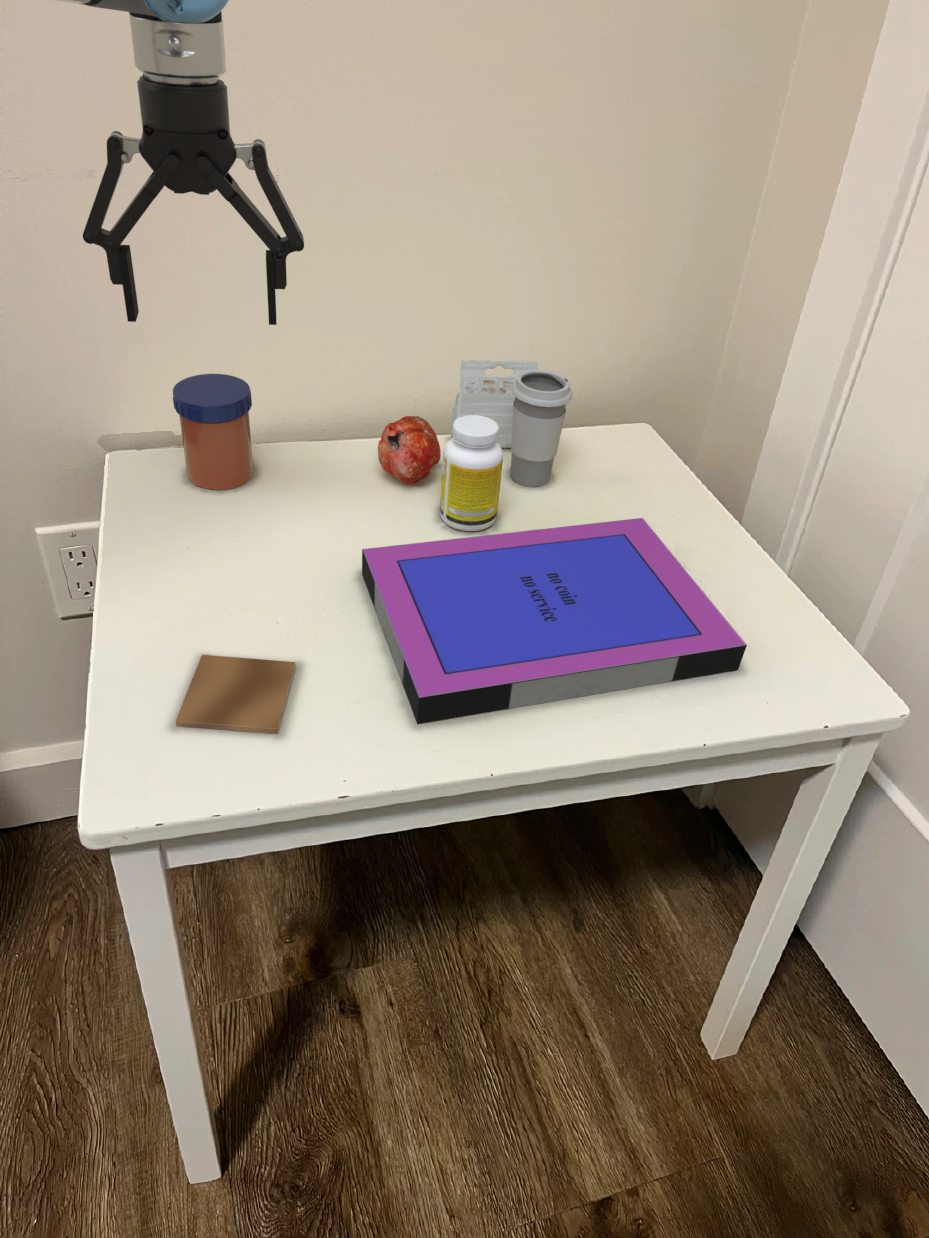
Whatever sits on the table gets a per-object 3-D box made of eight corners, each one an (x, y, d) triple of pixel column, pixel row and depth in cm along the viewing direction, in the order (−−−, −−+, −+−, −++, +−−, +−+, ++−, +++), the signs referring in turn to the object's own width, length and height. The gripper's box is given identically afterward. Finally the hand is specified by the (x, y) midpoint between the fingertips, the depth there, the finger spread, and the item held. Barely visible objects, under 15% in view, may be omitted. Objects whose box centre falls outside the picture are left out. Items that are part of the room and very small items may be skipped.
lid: (165, 419, 94) (162, 402, 93) (186, 387, 100) (184, 370, 99) (242, 426, 94) (241, 409, 93) (258, 393, 100) (257, 376, 99)
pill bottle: (507, 524, 98) (519, 431, 92) (460, 539, 96) (468, 444, 89) (474, 497, 102) (483, 406, 95) (428, 511, 99) (433, 418, 92)
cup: (566, 491, 105) (582, 394, 97) (510, 494, 103) (523, 395, 96) (547, 460, 110) (562, 366, 103) (494, 463, 109) (505, 367, 101)
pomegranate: (400, 472, 110) (346, 444, 102) (436, 422, 108) (384, 390, 100) (435, 506, 106) (381, 480, 98) (473, 455, 104) (422, 424, 96)
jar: (179, 487, 99) (168, 406, 93) (196, 455, 105) (187, 376, 99) (245, 492, 100) (238, 411, 94) (259, 460, 105) (253, 382, 99)
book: (362, 549, 88) (642, 517, 96) (361, 574, 89) (637, 541, 98) (418, 697, 72) (746, 645, 80) (417, 724, 74) (738, 670, 82)
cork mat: (176, 726, 72) (175, 720, 72) (202, 659, 78) (201, 654, 78) (277, 734, 72) (277, 728, 72) (295, 667, 78) (295, 661, 78)
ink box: (449, 439, 113) (455, 350, 105) (523, 439, 114) (534, 351, 107) (452, 450, 110) (459, 360, 103) (527, 450, 112) (539, 361, 105)
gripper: (18, 73, 74) (66, 329, 87) (329, 94, 78) (330, 335, 91) (36, 59, 80) (79, 302, 93) (325, 79, 84) (326, 308, 97)
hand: (204, 318), depth 92 cm, fingers open, 13 cm apart
